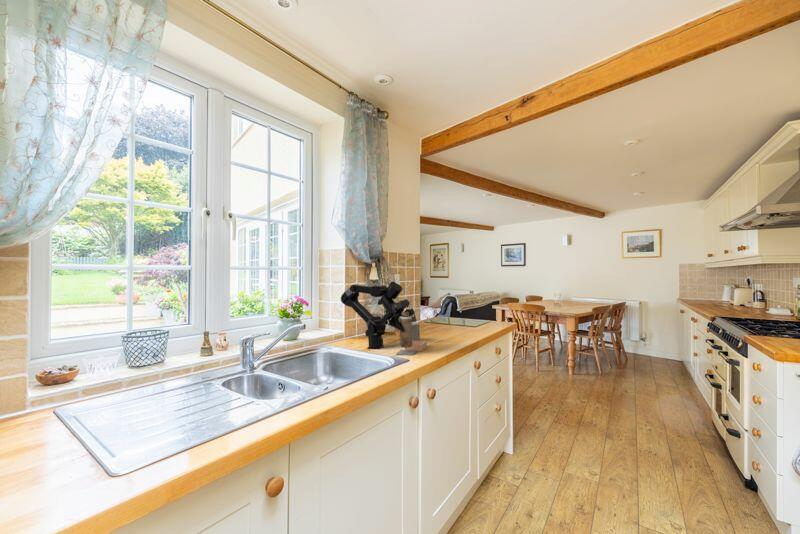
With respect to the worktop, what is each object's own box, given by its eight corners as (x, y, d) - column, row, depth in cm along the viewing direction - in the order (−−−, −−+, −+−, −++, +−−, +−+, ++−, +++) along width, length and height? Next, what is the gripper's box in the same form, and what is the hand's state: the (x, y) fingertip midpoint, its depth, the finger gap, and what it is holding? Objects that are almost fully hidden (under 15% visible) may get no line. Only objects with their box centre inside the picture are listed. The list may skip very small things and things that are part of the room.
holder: (404, 350, 163) (404, 344, 163) (410, 346, 171) (409, 340, 171) (422, 350, 160) (421, 344, 160) (426, 346, 168) (426, 340, 168)
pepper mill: (397, 346, 157) (396, 312, 158) (406, 344, 161) (405, 311, 162) (406, 348, 153) (405, 313, 154) (414, 346, 157) (414, 311, 158)
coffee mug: (414, 344, 175) (413, 325, 176) (398, 343, 181) (397, 324, 181) (426, 339, 187) (425, 321, 187) (410, 338, 192) (410, 320, 192)
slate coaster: (396, 354, 154) (396, 353, 154) (400, 350, 162) (400, 349, 162) (413, 355, 152) (413, 353, 152) (417, 351, 160) (416, 349, 160)
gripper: (384, 295, 153) (403, 321, 146) (411, 292, 167) (429, 316, 160) (373, 311, 159) (391, 337, 151) (399, 307, 173) (417, 331, 165)
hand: (408, 330), depth 157 cm, fingers closed on pepper mill, 6 cm apart
